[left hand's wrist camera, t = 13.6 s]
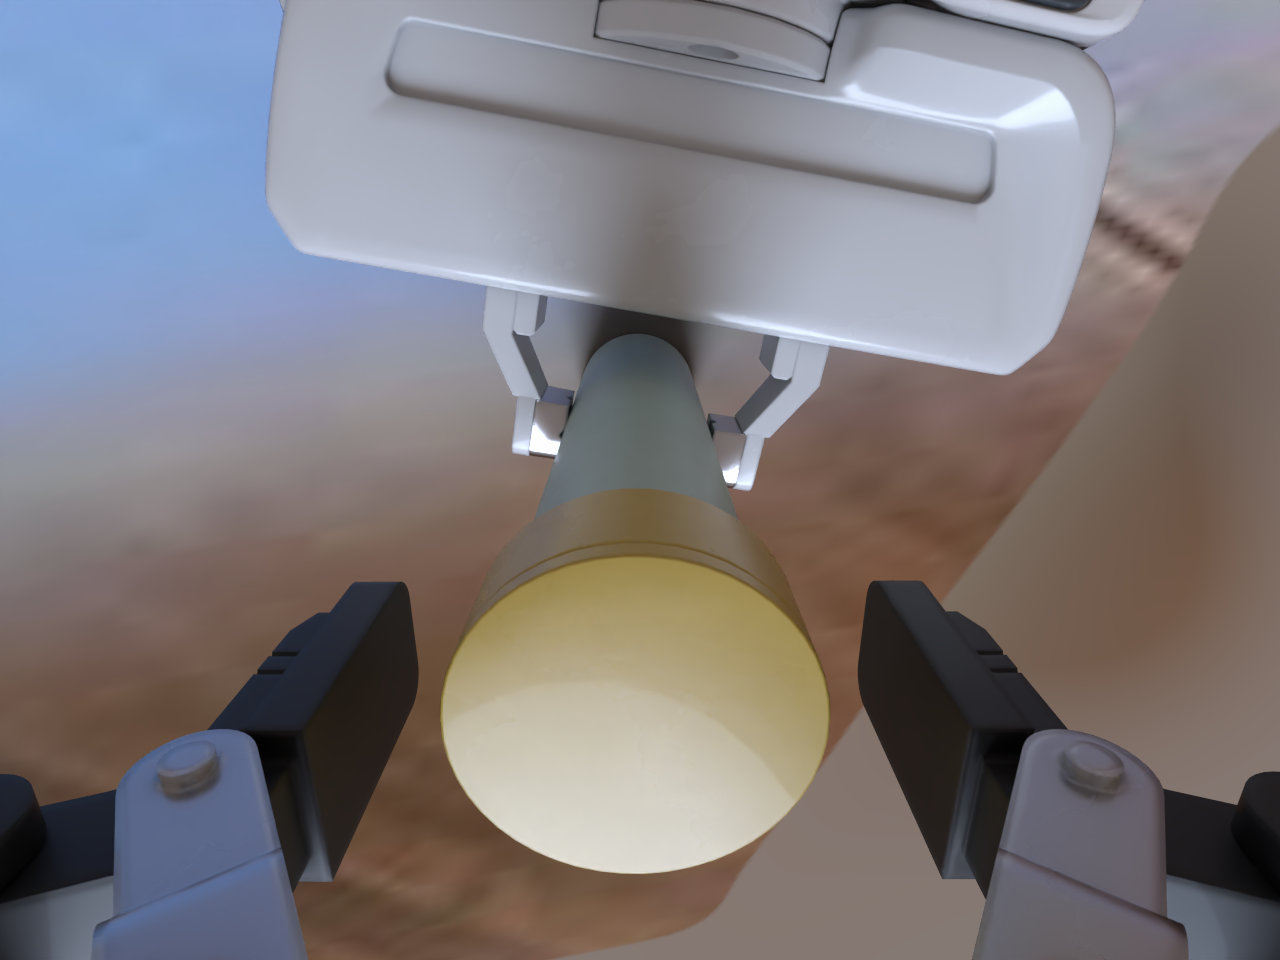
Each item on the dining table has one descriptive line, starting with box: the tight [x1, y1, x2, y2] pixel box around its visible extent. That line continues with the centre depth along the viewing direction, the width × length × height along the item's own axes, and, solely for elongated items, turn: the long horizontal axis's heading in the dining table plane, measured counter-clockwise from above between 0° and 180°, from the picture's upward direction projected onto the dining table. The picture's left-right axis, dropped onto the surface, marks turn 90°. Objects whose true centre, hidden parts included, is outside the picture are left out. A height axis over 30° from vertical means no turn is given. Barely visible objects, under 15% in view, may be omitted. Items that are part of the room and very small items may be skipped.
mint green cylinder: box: [535, 334, 739, 521], centre depth 18 cm, size 4×4×18 cm
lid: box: [440, 488, 830, 874], centre depth 10 cm, size 5×5×2 cm
